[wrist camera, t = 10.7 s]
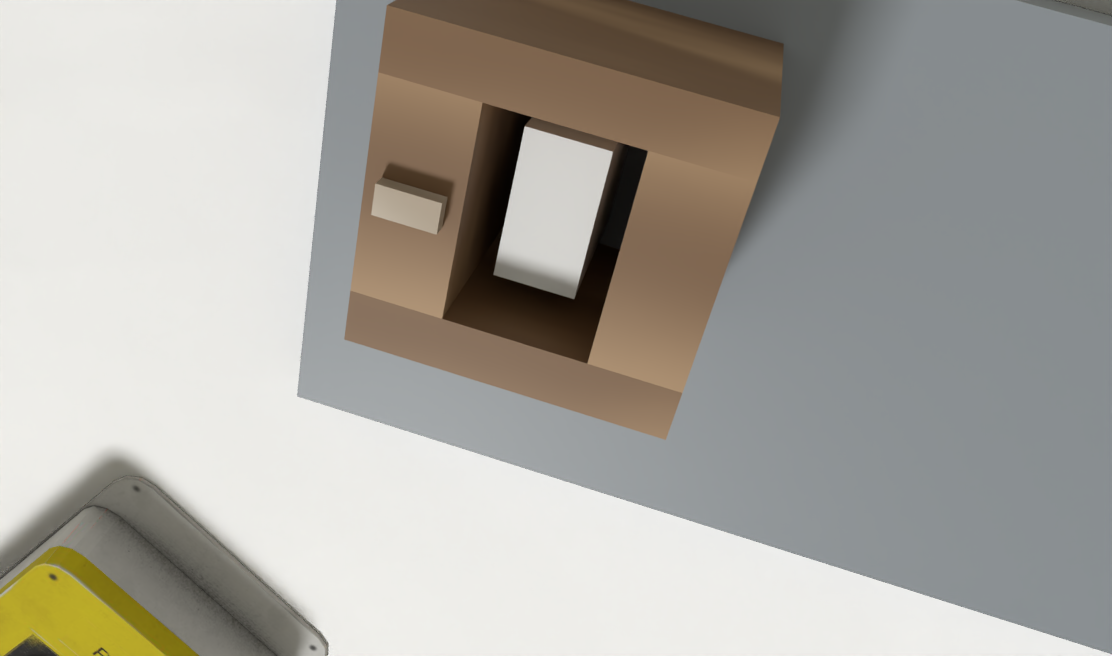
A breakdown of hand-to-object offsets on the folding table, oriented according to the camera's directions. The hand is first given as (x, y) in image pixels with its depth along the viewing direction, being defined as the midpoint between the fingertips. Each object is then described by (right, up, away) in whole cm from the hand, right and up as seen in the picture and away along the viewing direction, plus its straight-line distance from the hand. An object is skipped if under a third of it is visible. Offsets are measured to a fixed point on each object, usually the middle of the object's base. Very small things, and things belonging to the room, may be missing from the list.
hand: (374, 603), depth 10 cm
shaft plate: (+8, +4, +13) cm, 16 cm away
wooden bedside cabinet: (+3, +7, +11) cm, 13 cm away
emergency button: (-14, -8, +26) cm, 31 cm away
